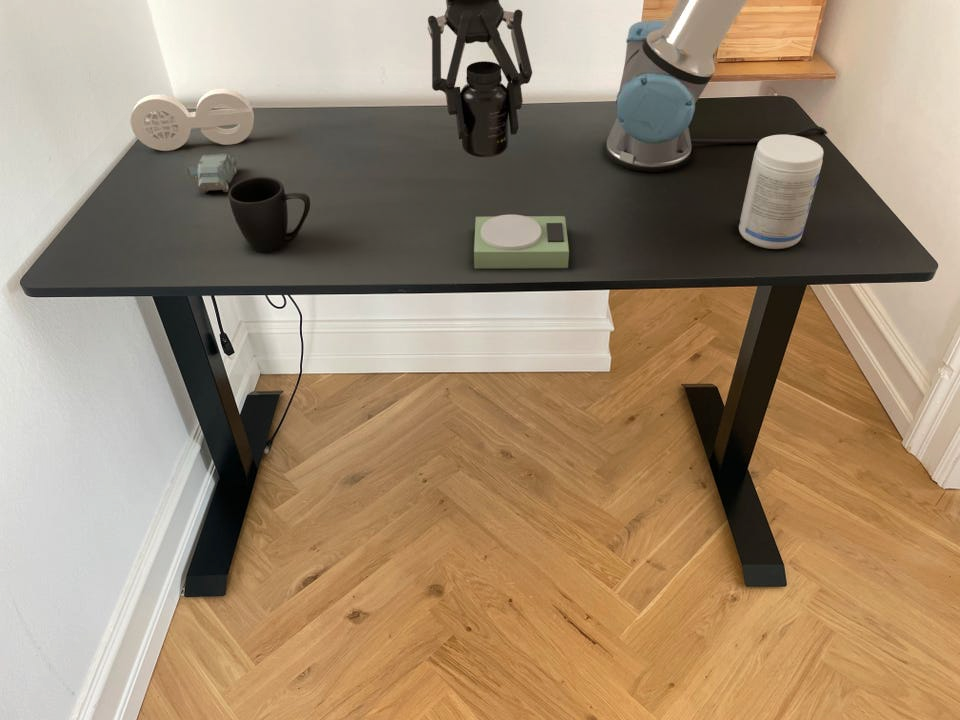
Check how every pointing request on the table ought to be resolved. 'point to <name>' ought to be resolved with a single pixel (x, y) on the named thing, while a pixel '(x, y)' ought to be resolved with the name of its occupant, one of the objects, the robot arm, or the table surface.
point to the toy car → (214, 172)
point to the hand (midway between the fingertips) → (488, 133)
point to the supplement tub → (780, 190)
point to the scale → (521, 242)
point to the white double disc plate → (191, 119)
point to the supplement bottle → (485, 110)
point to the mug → (264, 212)
